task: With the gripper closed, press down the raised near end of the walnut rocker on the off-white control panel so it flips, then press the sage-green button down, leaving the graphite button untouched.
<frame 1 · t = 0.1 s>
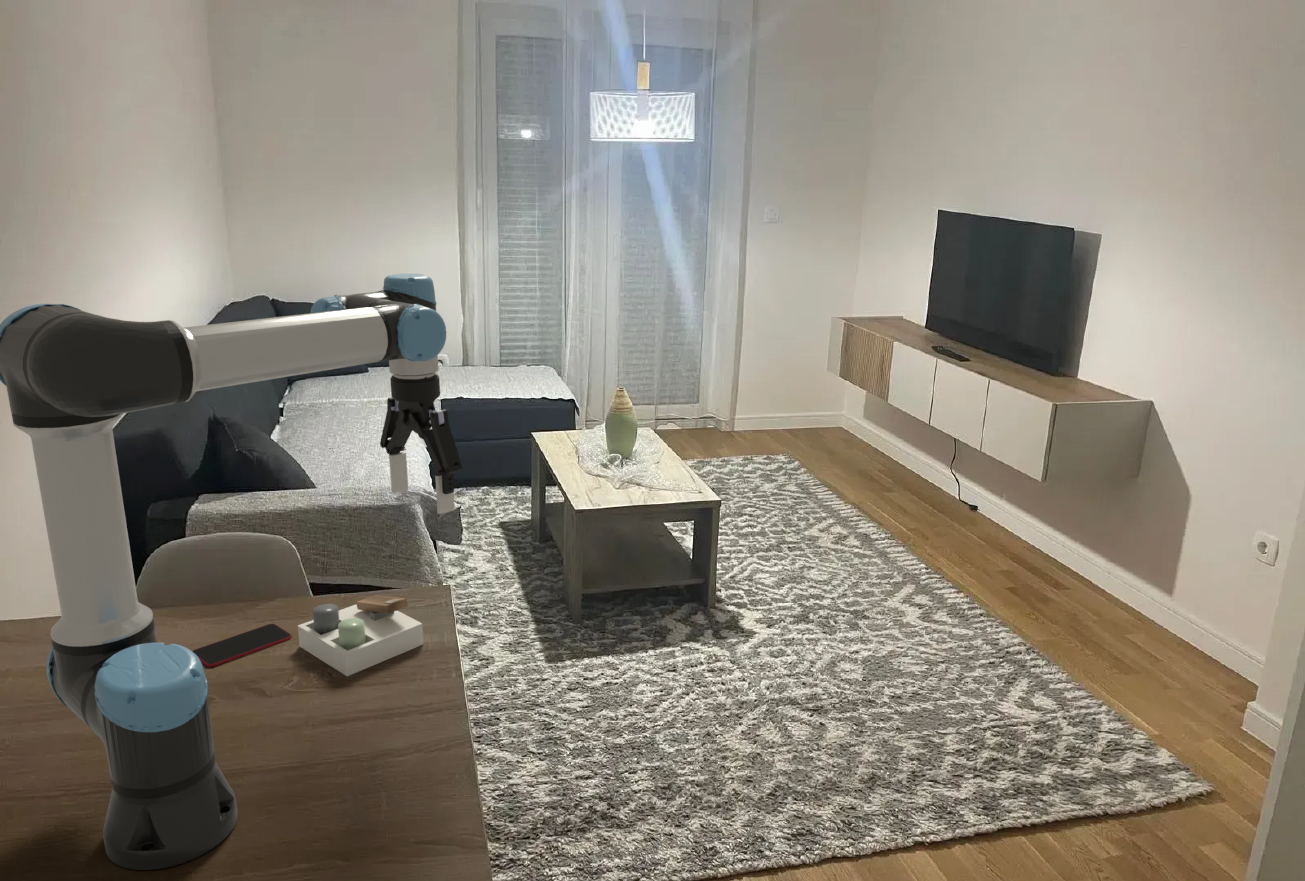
hand: (422, 501, 160), 28 cm above the table, fingers open, 13 cm apart
smartphone: (243, 648, 170), on the table
rocker: (381, 603, 172), point 6 cm above the table, hinge at -14.0°
button graphite: (326, 619, 169), point 5 cm above the table, slide at 0.0 cm
button sage: (351, 634, 164), point 5 cm above the table, slide at 0.0 cm
panel: (361, 645, 171), on the table
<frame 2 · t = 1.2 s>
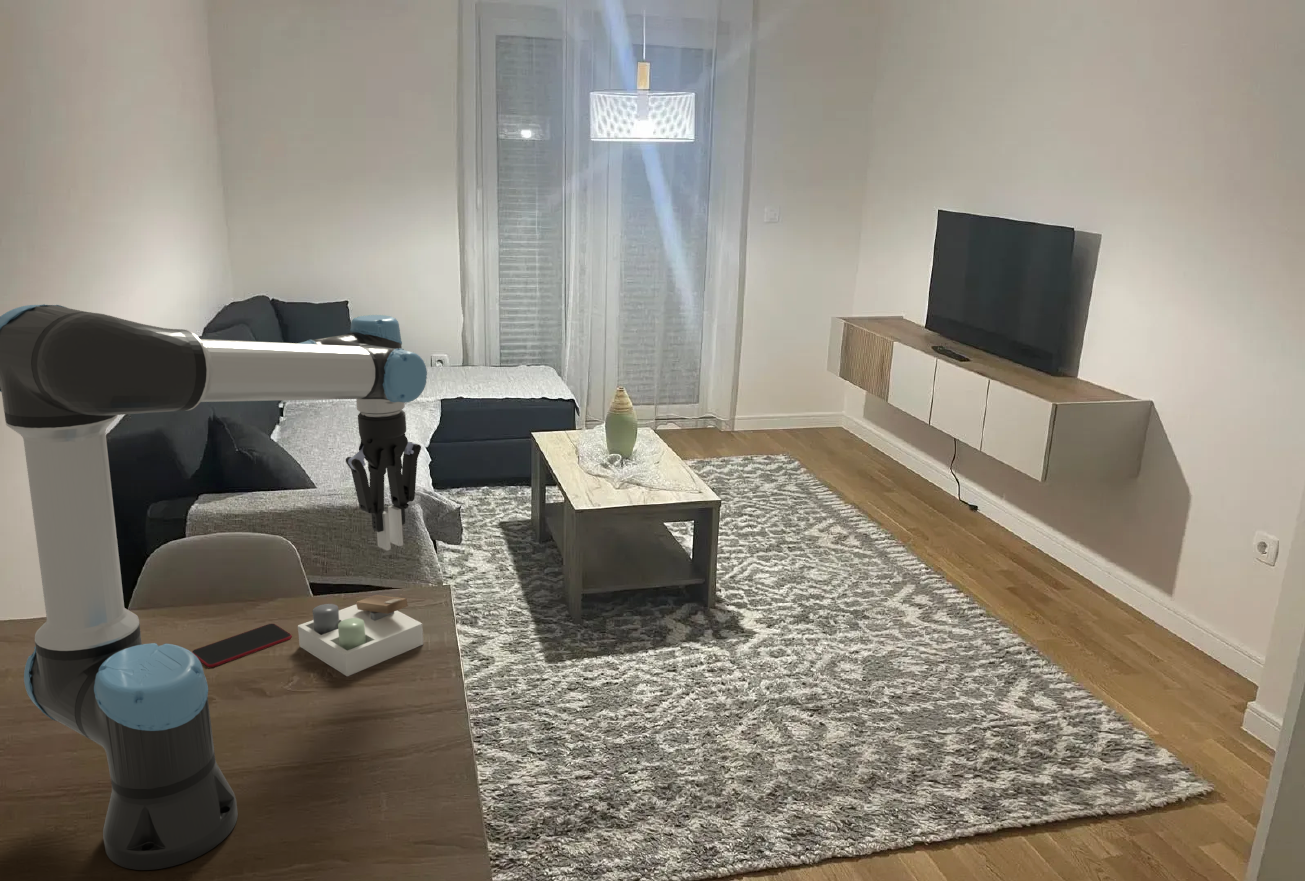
hand: (390, 545, 166), 18 cm above the table, fingers closed
nothing on the table moved.
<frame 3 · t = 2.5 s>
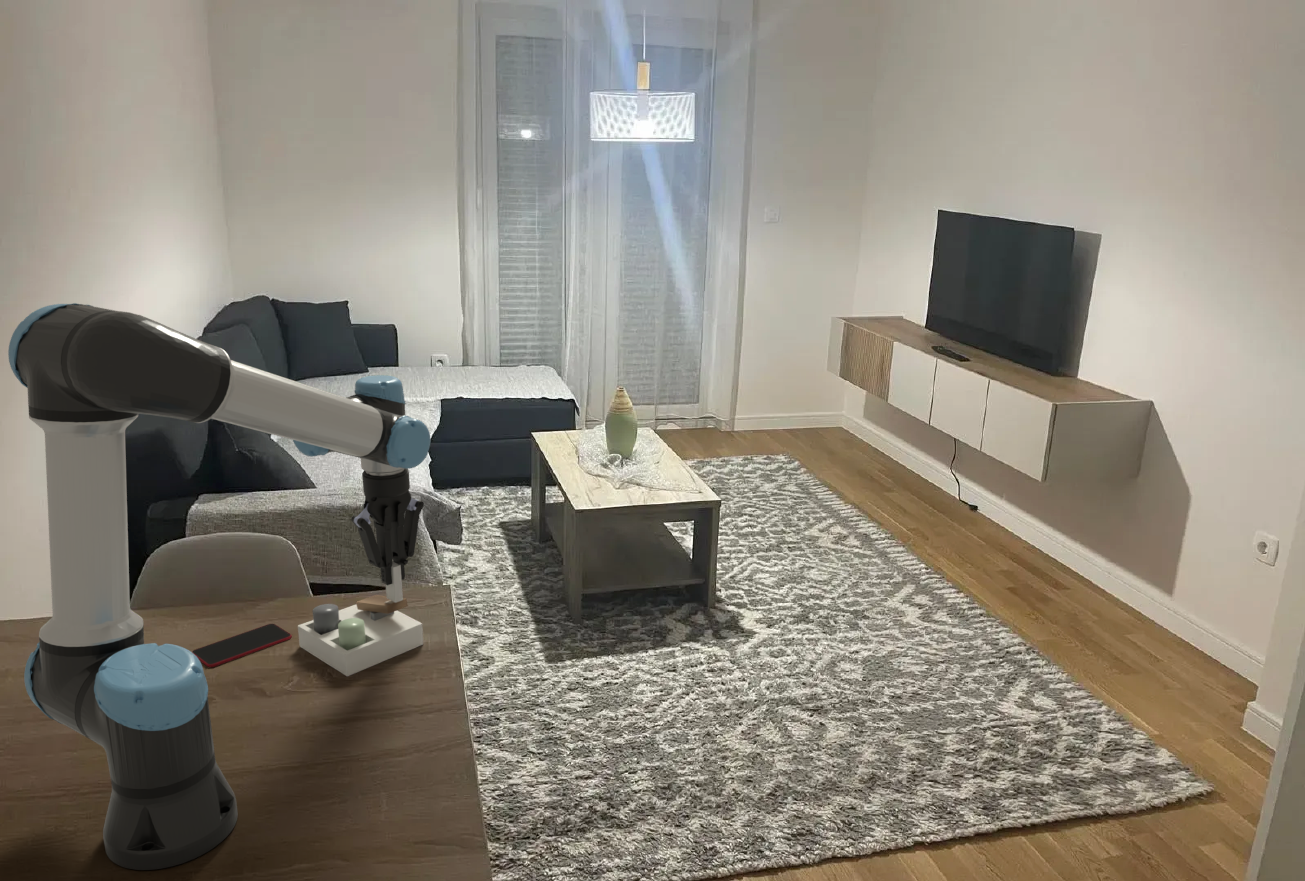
hand: (394, 598, 169), 9 cm above the table, fingers closed
rocker: (381, 603, 172), point 6 cm above the table, hinge at -14.0°, touching gripper
everything else where it was.
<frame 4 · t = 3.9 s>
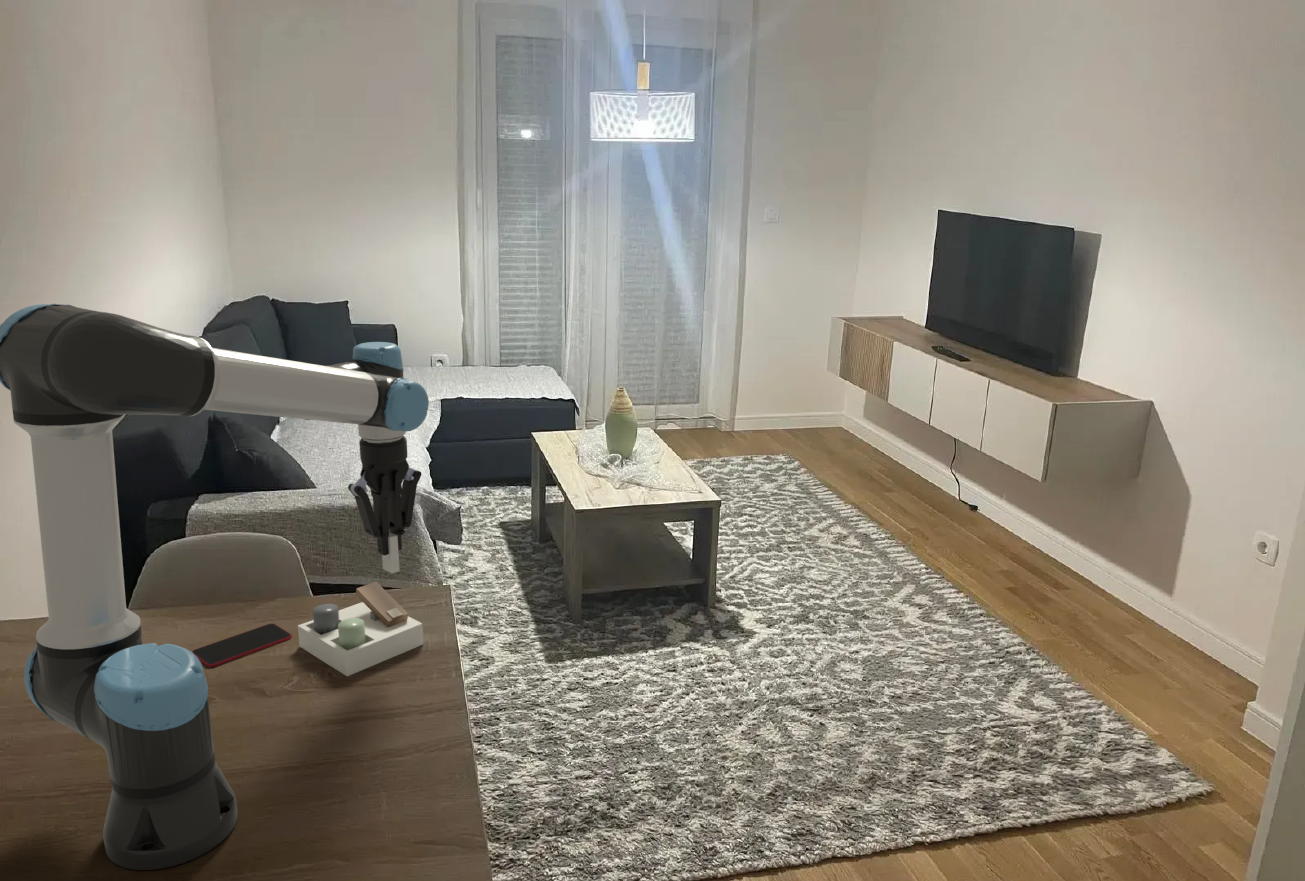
hand: (391, 569, 167), 14 cm above the table, fingers closed
rocker: (381, 603, 172), point 6 cm above the table, hinge at 18.4°
everything else where it was.
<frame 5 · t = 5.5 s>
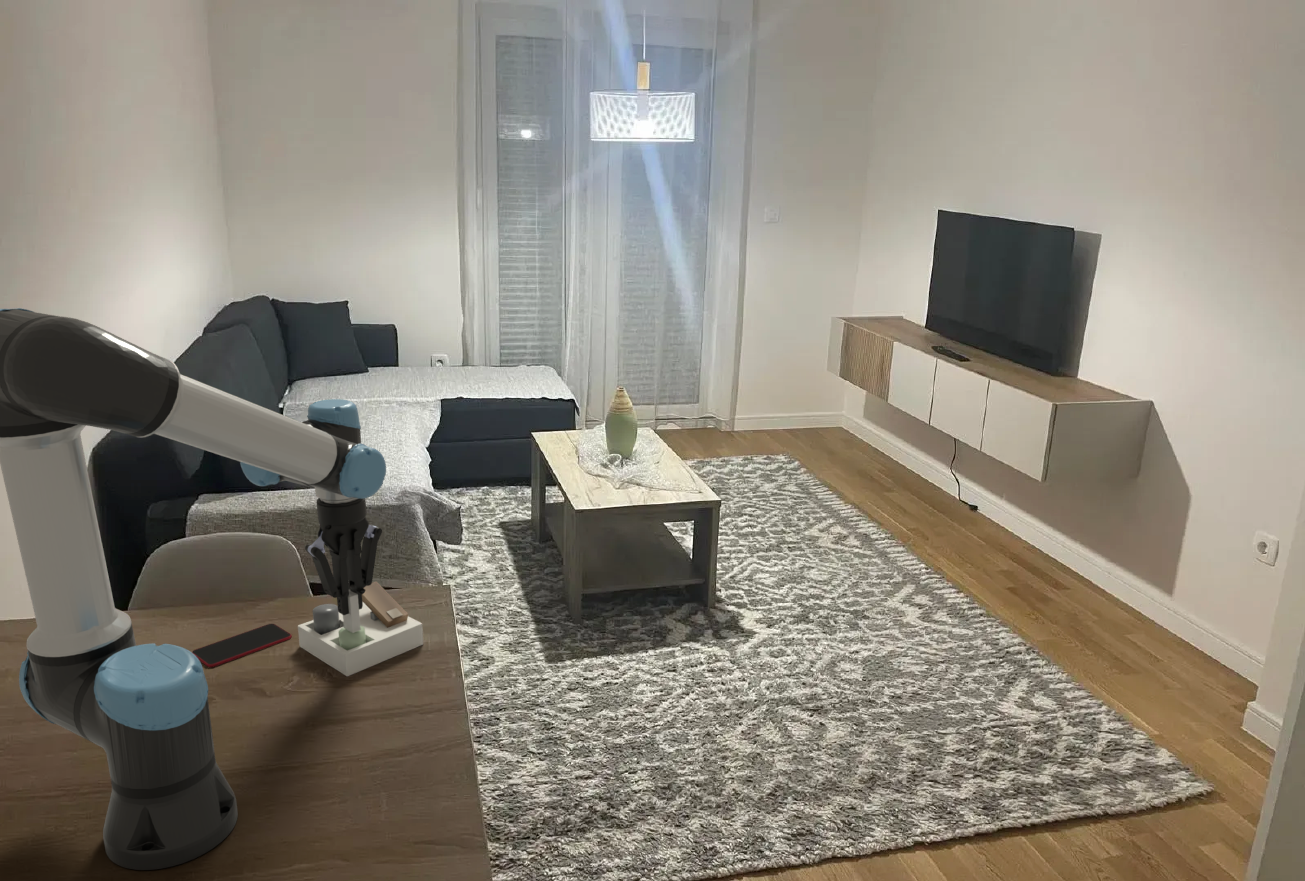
hand: (352, 628, 164), 6 cm above the table, fingers closed
rocker: (381, 603, 172), point 6 cm above the table, hinge at 19.4°, touching panel
button sage: (352, 641, 164), point 4 cm above the table, slide at 1.3 cm, touching gripper
everything else where it was.
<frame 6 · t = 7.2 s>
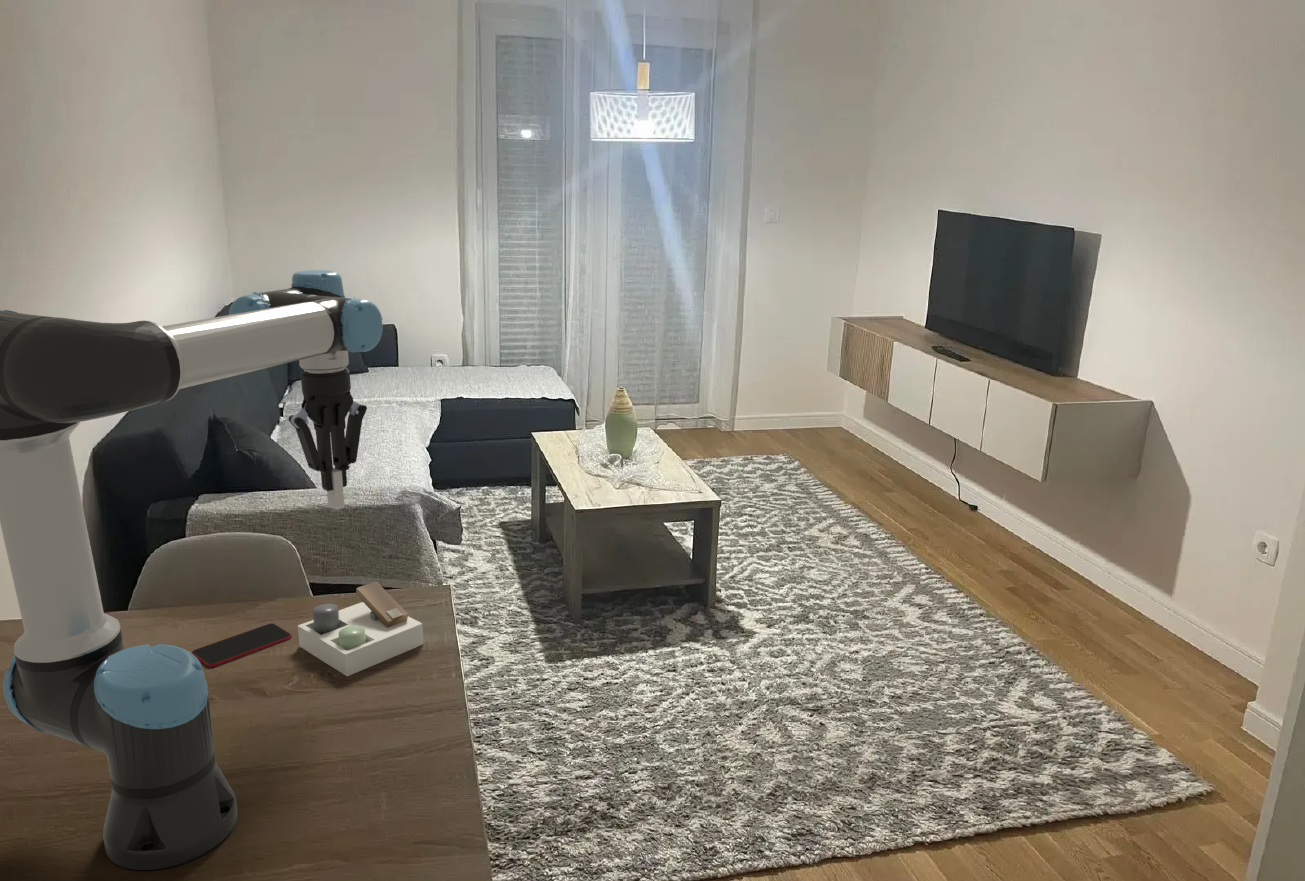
hand: (336, 506, 164), 26 cm above the table, fingers closed
button sage: (352, 642, 164), point 4 cm above the table, slide at 1.5 cm
everything else where it was.
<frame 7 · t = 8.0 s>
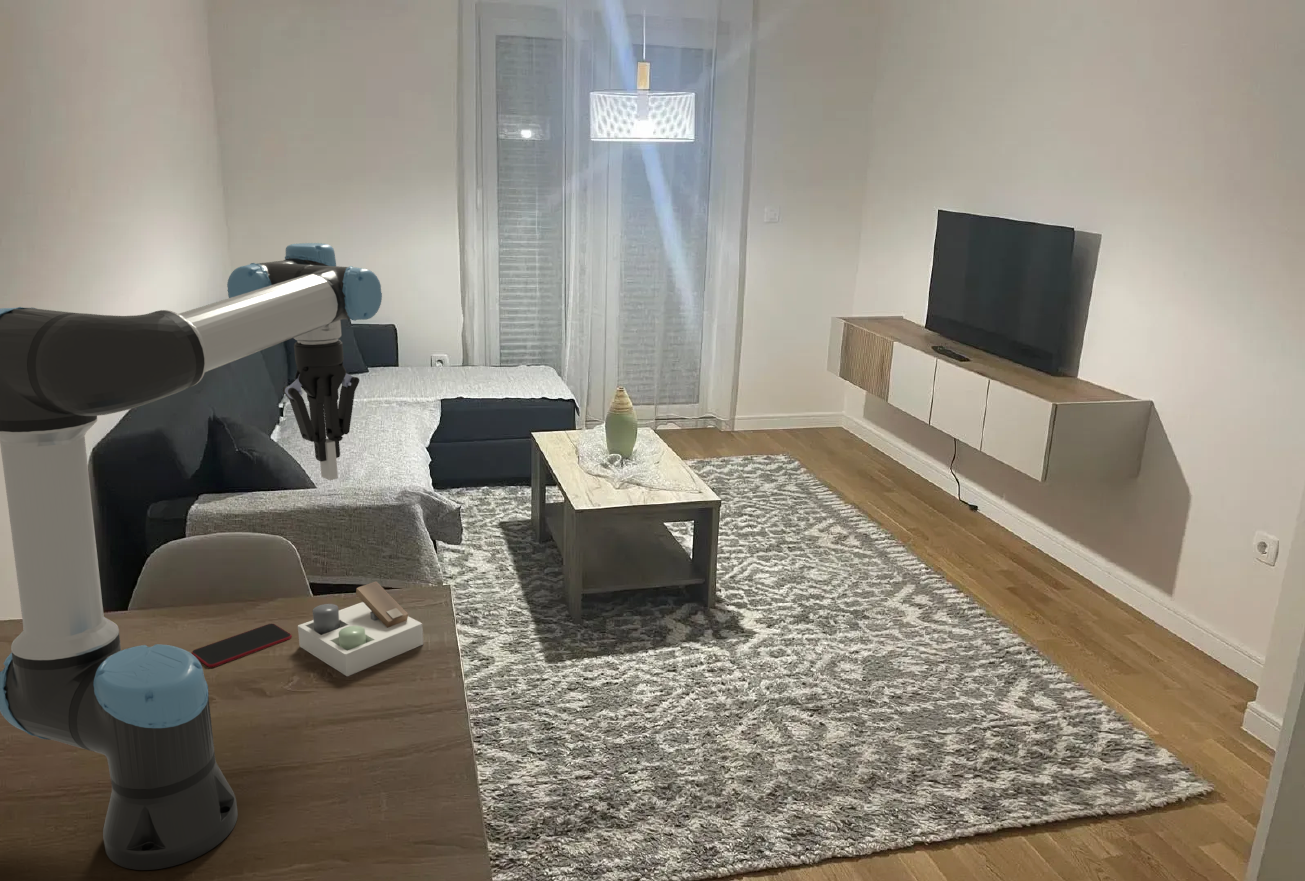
hand: (329, 477, 166), 29 cm above the table, fingers closed
nothing on the table moved.
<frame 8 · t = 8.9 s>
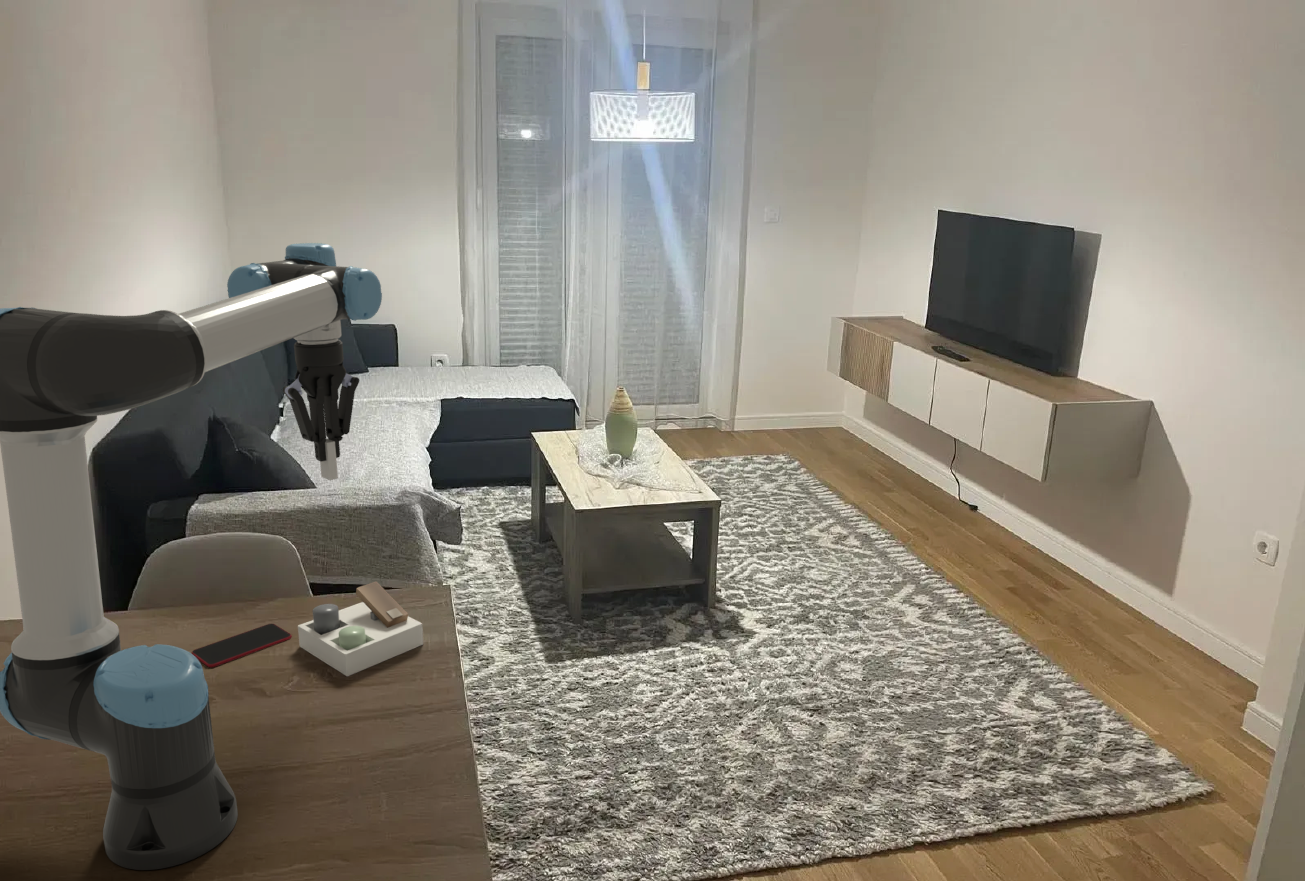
hand: (329, 477, 166), 29 cm above the table, fingers closed
nothing on the table moved.
at the end: rocker at +19° (first picture: -14°); button sage slide at 1.5 cm; button graphite slide at 0.0 cm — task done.
